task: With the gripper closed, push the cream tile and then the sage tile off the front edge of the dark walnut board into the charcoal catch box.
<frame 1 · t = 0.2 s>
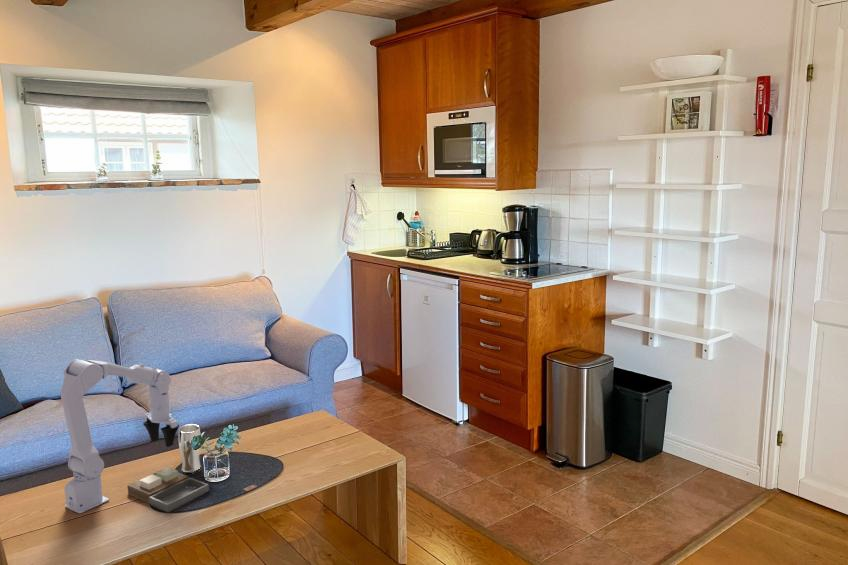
hand: (162, 443, 217), 10 cm above the table, tool pointing down, fingers open, 7 cm apart
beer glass: (191, 469, 219), on the table
walnut board: (158, 489, 206), on the table
catch box: (179, 498, 201), on the table
cream tile: (150, 484, 203), point 3 cm above the table, touching walnut board
sage tile: (167, 477, 208), point 3 cm above the table, touching walnut board
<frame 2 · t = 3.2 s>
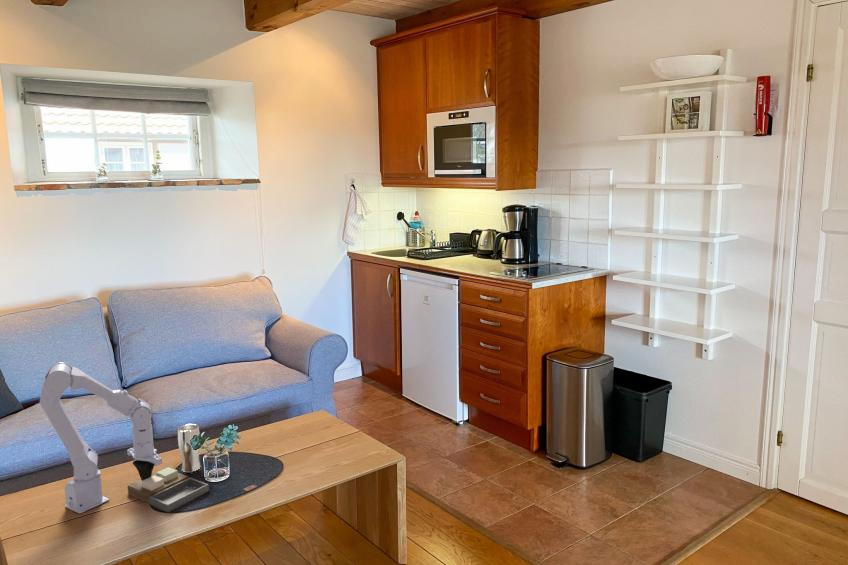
hand: (146, 481, 204), 4 cm above the table, tool pointing down, fingers closed
cream tile: (153, 485, 202), point 3 cm above the table, touching gripper, walnut board
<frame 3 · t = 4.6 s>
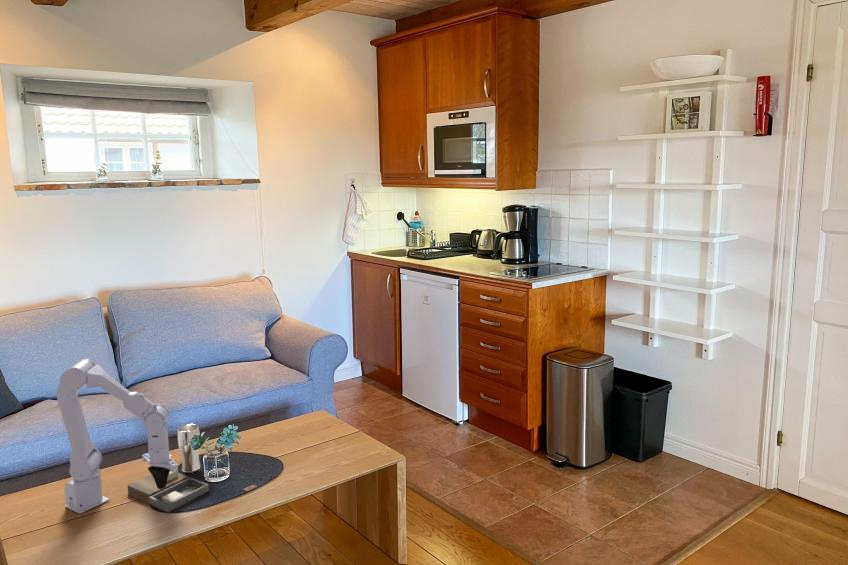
hand: (161, 487, 200), 4 cm above the table, tool pointing down, fingers closed
cream tile: (173, 496, 197), point 2 cm above the table, tilted 180°, touching catch box
everything else where it was.
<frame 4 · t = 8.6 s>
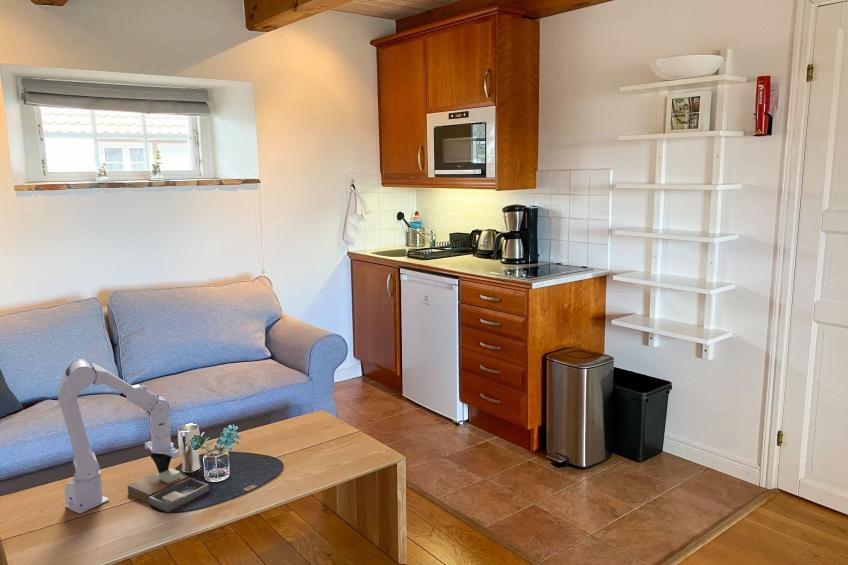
hand: (163, 474, 209), 4 cm above the table, tool pointing down, fingers closed
sage tile: (170, 478, 207), point 3 cm above the table, touching walnut board
everything else where it was.
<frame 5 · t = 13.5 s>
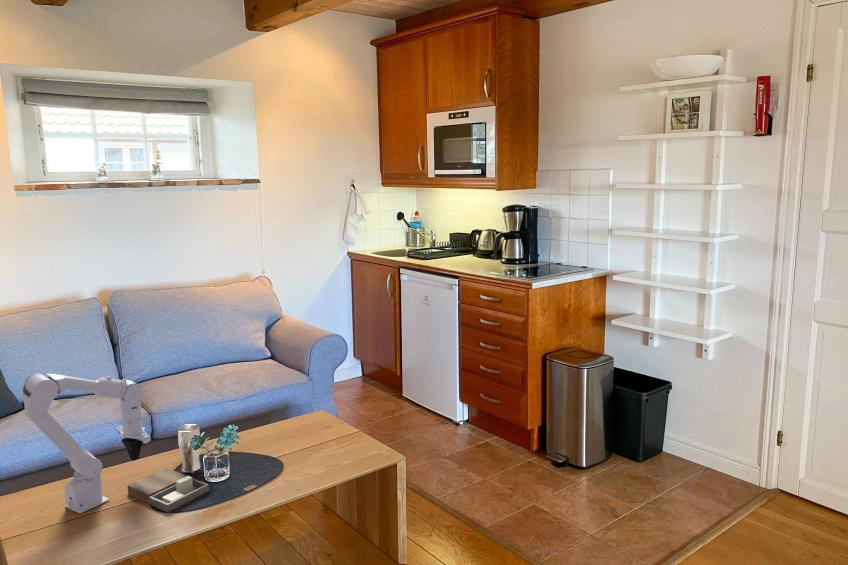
hand: (135, 459, 206), 9 cm above the table, tool pointing down, fingers closed
sage tile: (182, 485, 203), point 3 cm above the table, tilted 90°, touching catch box
everything else where it was.
at the end: cream tile inside the target area on the catch box (3.3 cm from its centre), point 2.4 cm above the catch box's base; sage tile inside the target area on the catch box (3.2 cm from its centre), point 2.6 cm above the catch box's base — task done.
